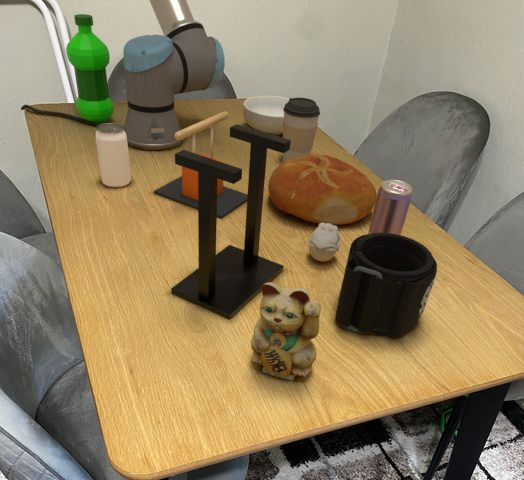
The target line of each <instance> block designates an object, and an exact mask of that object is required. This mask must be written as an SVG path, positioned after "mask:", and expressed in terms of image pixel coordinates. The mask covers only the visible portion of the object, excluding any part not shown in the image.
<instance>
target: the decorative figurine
mask: <svg viewBox="0 0 524 480" xmlns="http://www.w3.org/2000/svg"><path fill="white" fill-rule="evenodd" d="M261 289H262V290H261V294H262V298H261V300H260V304H259V316H260V317H259V318H258V320H257V321H256V322H255V325H254V327H253V335H252V336H251V339H250V347H251V350H252V351H253V352H252V363H253V364H256V365H258V366H262V373H265V374H267V375H270V376H273V377H277V378H279V379H284V380H287V381H294V380H295V377H296V376H298V377H303V378H306V377H307V376H308V375H309V374H310V372H311V370H312V367H313V364H314V362H315V361H316V360H317V349H316V346H315V344H314V343H313V341H312V340H313V339H315V338H316V337H317V336H318V335H319V331H320V316H321V311H322V307H321V304H320V302H319V301H317V300H311V298H310V294H309V291H308V290H307V289H306V288H304V287H297V288H292V287H283V286H282V287H280V286H279V285H278V284H276V283H274V282H272V281H271V282H269V283H265V284H264V285H262V288H261Z"/></svg>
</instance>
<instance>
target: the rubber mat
mask: <svg viewBox="0 0 524 480" xmlns="http://www.w3.org/2000/svg"><path fill="white" fill-rule="evenodd" d="M153 194H155V195H157V196H160V197H163V198H166V199H168V200H170V201H173V202H176V203H179V204H181V205H184V206H187V207H190V208H192V209H195V210H198V200H195V199H192V198H190V197H187V196H184V195H183V191H182V175H181V176H179V177H177V178H175V179H174V180H172V181H170V182H168V183H166V184H164V185H162V186H161V187H159V188H157V189H155V190H153ZM247 195H248V193H245V192H241V191H238V190H236V189H232V188H230V187H227V186H224V185H223V192H222V193H220V194H219V195H217V218H219V219H223V218H225V217H226V216H227V215H229V214H231V212H233V211H234V210H236V209H237V208H239V207H241V206H242V205H243V204H245V203H247Z"/></svg>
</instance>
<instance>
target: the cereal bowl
mask: <svg viewBox="0 0 524 480" xmlns="http://www.w3.org/2000/svg"><path fill="white" fill-rule="evenodd" d="M289 99H290V97H289V98H288V97H285V96H278V95H256V96H252V97H249V98H246V99H245V100H244V101H243V104H242V105H243V106H242V111H243V117H244V120H245V123H247V124H248V125H249V126H250V128H252V129H255V130H258V131H261V132H265V133H268V134H271V135H275V136H282V135H283V119H284V111H283V108H284V107H285V104H286V103H288V101H289Z"/></svg>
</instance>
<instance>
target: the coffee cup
mask: <svg viewBox="0 0 524 480" xmlns="http://www.w3.org/2000/svg"><path fill="white" fill-rule="evenodd" d="M283 111H284V119H283V134H282V138H285V139H288V140H291V143H290V150H288V151H287V152H285V153H282V163H283V162H284V161H286V160H288V159H290V158H297V157H300V156H304V155H311V153H312V149H313V146H314V142H315V137H316V134H317V129H318V126H319V125H318V124H319V123H318V121H319V116H320V115H321V111H320V107H319V106H318V104H317V101H316V100H314V99H310V98H306V97H293V98H292V97H289V101H288V103H286V104H285V107H284V108H283Z"/></svg>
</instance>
